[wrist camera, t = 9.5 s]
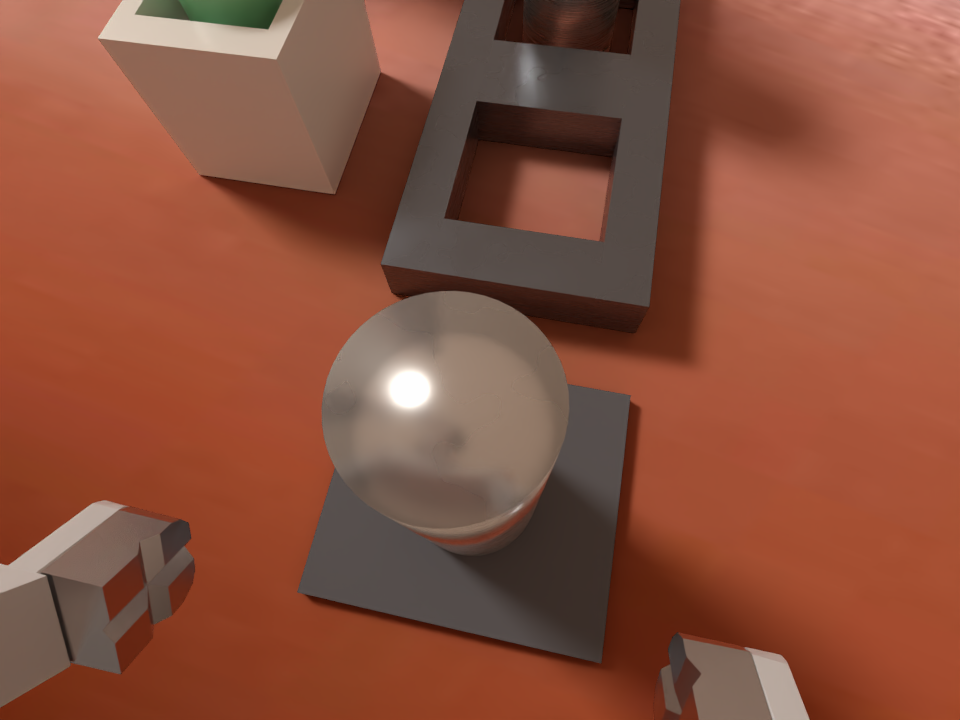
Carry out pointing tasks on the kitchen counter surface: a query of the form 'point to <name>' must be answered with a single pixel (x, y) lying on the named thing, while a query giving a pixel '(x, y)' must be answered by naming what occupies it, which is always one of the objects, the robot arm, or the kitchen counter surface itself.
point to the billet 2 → (570, 23)
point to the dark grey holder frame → (553, 125)
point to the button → (233, 12)
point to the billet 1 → (448, 418)
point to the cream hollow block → (253, 86)
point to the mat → (507, 572)
